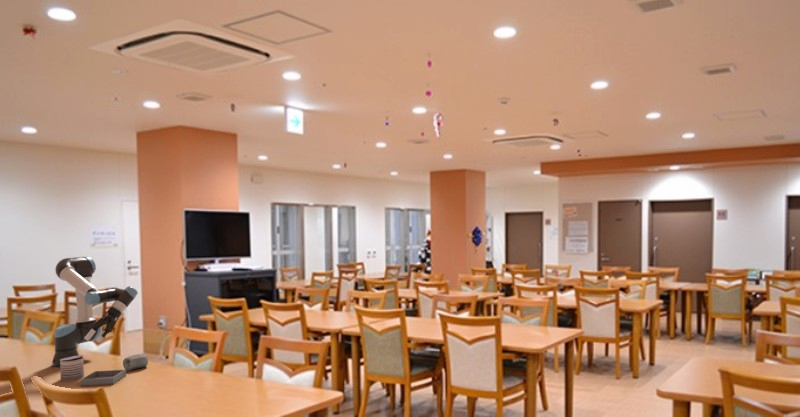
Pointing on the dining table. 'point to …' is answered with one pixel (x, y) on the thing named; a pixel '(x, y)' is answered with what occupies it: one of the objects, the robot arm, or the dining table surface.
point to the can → (72, 368)
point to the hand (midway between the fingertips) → (91, 340)
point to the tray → (103, 377)
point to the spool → (135, 362)
